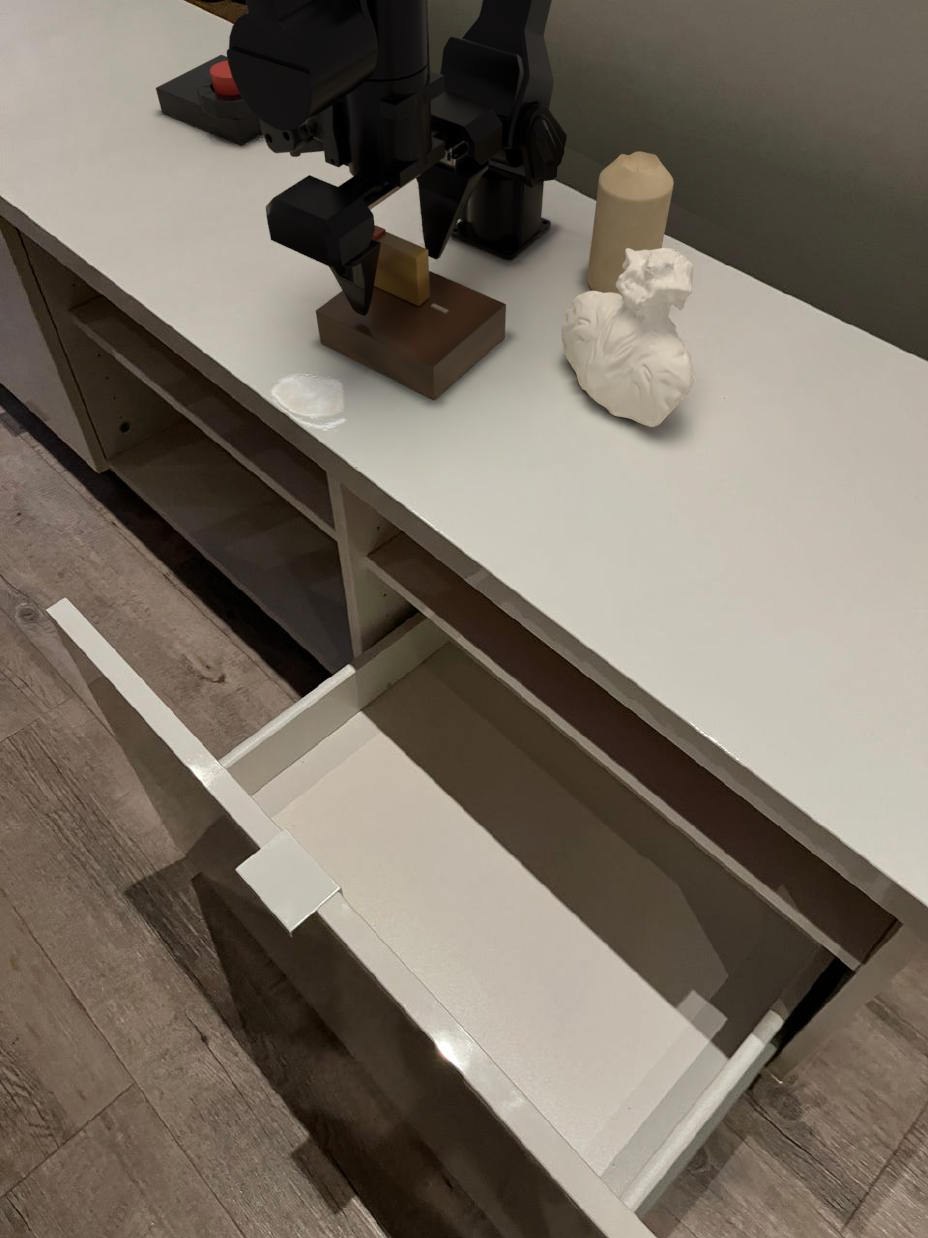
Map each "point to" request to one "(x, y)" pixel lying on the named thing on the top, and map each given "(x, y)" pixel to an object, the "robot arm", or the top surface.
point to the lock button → (223, 79)
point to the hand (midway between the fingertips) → (398, 283)
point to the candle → (627, 215)
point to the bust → (634, 338)
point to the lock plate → (416, 333)
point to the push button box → (208, 105)
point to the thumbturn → (402, 268)
